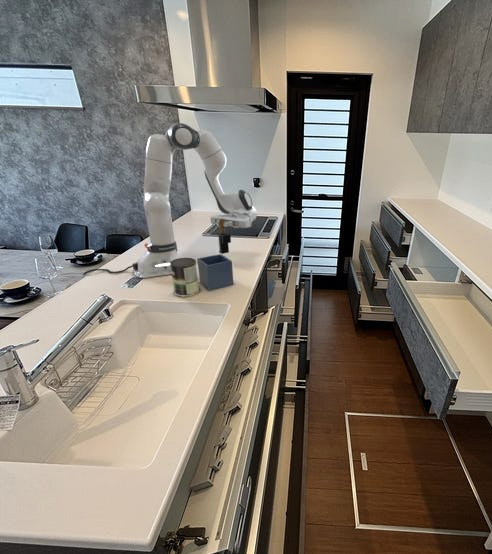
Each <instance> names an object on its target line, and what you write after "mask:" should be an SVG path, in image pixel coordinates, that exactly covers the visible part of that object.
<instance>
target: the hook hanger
mask: <svg viewBox="0 0 492 554" xmlns="http://www.w3.org/2000/svg"><path fill="white" fill-rule="evenodd" d="M224 222H225V221H224V219H223V218H221V219H219V223H220V226H219V232H218V233H217V237H218V246H219V247H218V248H219V250H218V253H219V254H222V255H223V254H227V253H230V249H229V248H230V247H229V243H230V244H231V243H232V238H231V234H230V233H228V232H226V227H225V226H223V223H224Z"/></svg>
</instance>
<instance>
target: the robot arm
mask: <svg viewBox="0 0 492 554" xmlns="http://www.w3.org/2000/svg"><path fill="white" fill-rule="evenodd" d="M146 144H147V145H146V149H145V163H144V179H143V181H144V183H143V197H142V198H143V200H142V202H143V210H144V214H145V220H146V225H147V230H148V235H149V240H150V243H147V242H146V243H144V248H145V249H147V251H146V252H145V253H144V254H143V255H142V256H140V258H139V259H138V261H137V262H134V263H132V265H129V266H127V267H126V268H125V269H121V270H117V271H113V270H112V271H111V270H110V269H108V268H93V269H89V270H87V271H85V272H84V273H82V276H86V275H87V274H88V273H90V272H97V271H106V272H108V273H110V274H119V273H123V272H125V271H127V270H129V269H131V268H132V269H133V275H134V276H135V277H136V278H139V279H147V278H154V277H155V278H156V277H162V276H168V275H172V272H171V266H170V262H171V261H172V260H175V259H178V258H180V257H179V255H178V245H177V241H176V240H175V231H174V227H173V218H172V217H173V215H172V210H171V203H170V189H171V181H172V174H173V173H172V172H173V157H174V153H175V152H176V150H181V151H186V150H187V151H188V150H192V149H193V150H195V152H196V153H197V154H198V156H199V157H200V159H201V160H202V163H203V166H204V177H205V180H206V181H207V184H208V186H209V188H210V190H211V192H212V194H213V197H214V199H215V201H216V205H217V208H218V209H219V211H220V212H221V213H223V214H216V215H211V216H210V224H211V225H216V226H218V227H220V223H219V219H221V218H223V219H224V221H225V222H224V223H223V226H225V228H226V227H232V228H234V229H240V228H241V229H247V228H251V227H252V225H253V224H252V223H253V222H255V220H256V219H257V217H258V211H257V209H256V208H255V206H253V200H252V198H251V195H250V193H248V192H247V191H246V190H244V189H239V190H236V191H233V192H229V193H228V194H227V193H225V192H224V190H223V187H222V185H221V183H220V181H219V176H220V174H221V173H222V172H223V170H224V169H225V168H226V165H227V156H226V154H225V152H224V150H223V148H222V147H221V145H220V143H219V142H218V140H217V139H216V138H215V136H214V135H213V134H212V133H211V131H210V130H208V129H205V128H204V129H198V130H195V129H194V128H193V127H191V126H190V125H188V124H185V123H183V122H175V123H173V124H172V125H170V126H169V127H168V128H167V129H166V131H165V132H164V133H163V134H161V133H160V134H159V133H153V134H152V135H150V136H149V137H148V140H147V143H146Z"/></svg>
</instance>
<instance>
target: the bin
mask: <svg viewBox="0 0 492 554" xmlns="http://www.w3.org/2000/svg"><path fill="white" fill-rule="evenodd" d="M196 263H197V269H198V270H197V271H198V278H199V283H200V284H201V285H203V286H204V288H206V289H207V290H208V291H215V290H218V289H222V288H226V287H230V286H233V285H234V273H233V261H232V259H230V258H228V257H227V256H225V255H223V254H221V253H219V254H213V255H209V256H203V257H198V258H196Z"/></svg>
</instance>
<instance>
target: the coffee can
mask: <svg viewBox="0 0 492 554" xmlns="http://www.w3.org/2000/svg"><path fill="white" fill-rule="evenodd" d="M170 266H171V272H172V274H171V277H172V283H173V284H172V285H173V289H174V295H175V296H177V297H182V298H185V297H192V296H195V295H196V294H197V295H198V293H199V292H200V286H199V279H198V278H199V276H198V270H197V269H198V268H197V259H195V258H192V257H179V258H178V259H175V260H172V261H171V262H170Z"/></svg>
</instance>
